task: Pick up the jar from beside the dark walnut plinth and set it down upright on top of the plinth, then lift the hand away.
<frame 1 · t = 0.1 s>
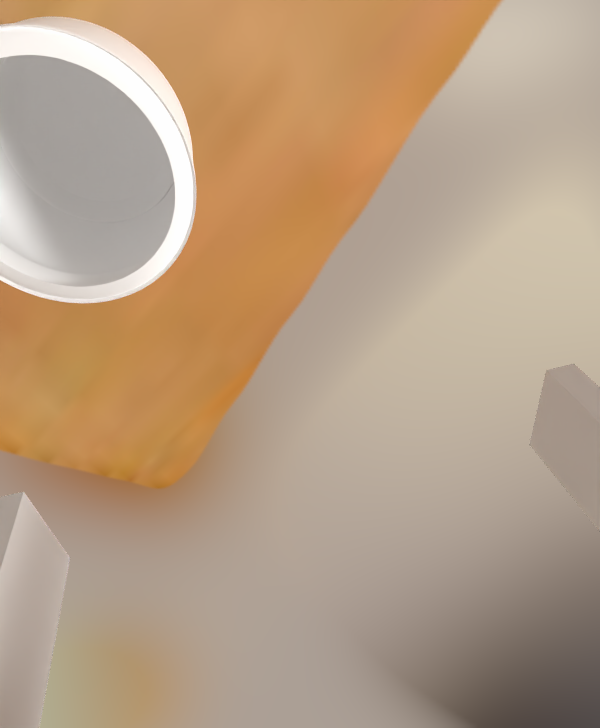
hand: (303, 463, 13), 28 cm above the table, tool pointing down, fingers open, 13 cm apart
jar: (103, 114, 32), on the table
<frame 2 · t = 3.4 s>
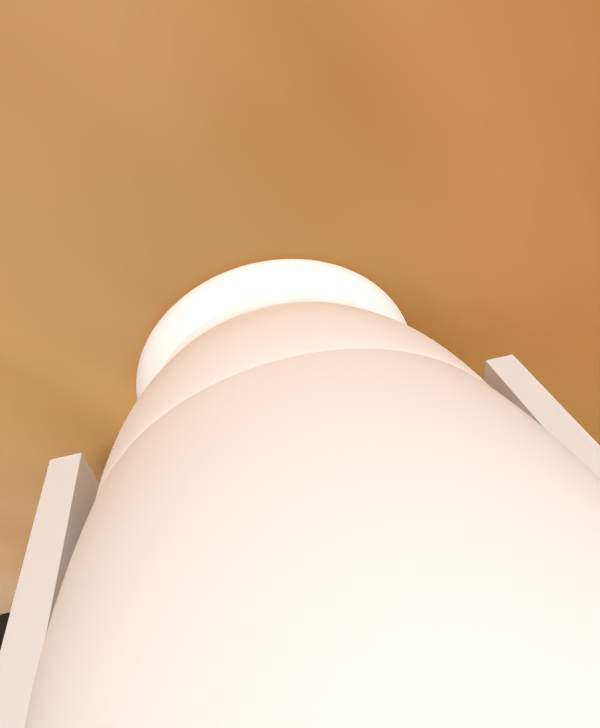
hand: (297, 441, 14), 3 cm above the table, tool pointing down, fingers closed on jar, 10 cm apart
jar: (277, 373, 16), on the table, touching gripper
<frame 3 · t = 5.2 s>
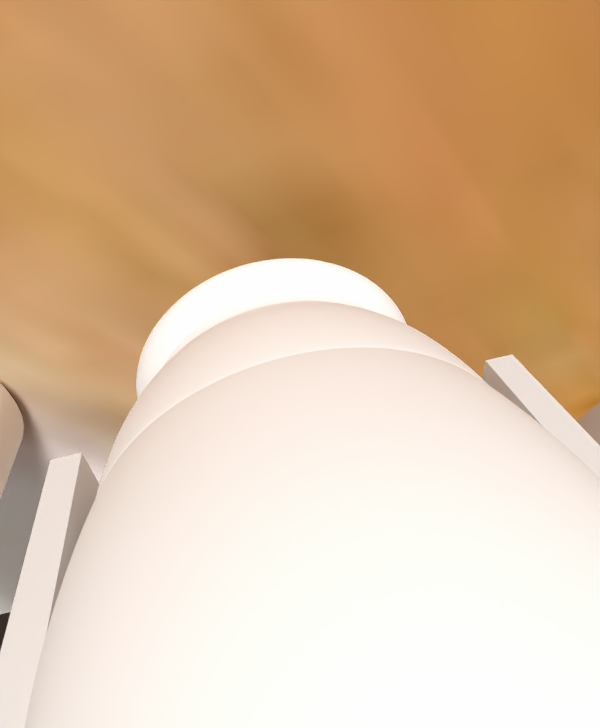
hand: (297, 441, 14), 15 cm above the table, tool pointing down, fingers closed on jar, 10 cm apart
jar: (277, 372, 16), point 12 cm above the table, touching gripper
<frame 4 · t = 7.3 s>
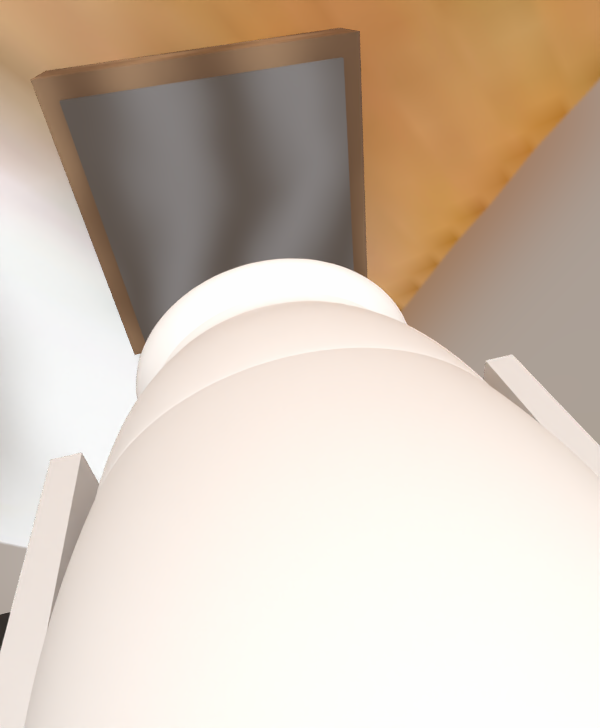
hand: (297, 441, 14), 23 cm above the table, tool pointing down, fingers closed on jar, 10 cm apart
plinth: (226, 195, 32), on the table
jar: (277, 373, 16), point 20 cm above the table, touching gripper
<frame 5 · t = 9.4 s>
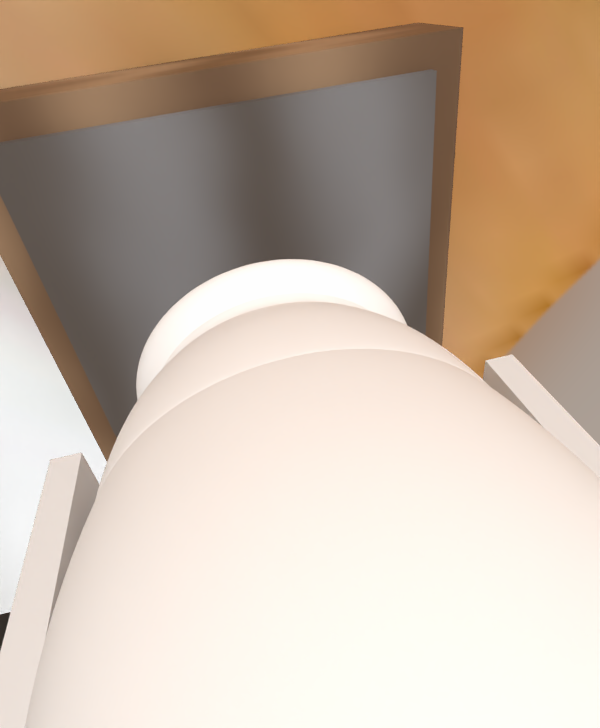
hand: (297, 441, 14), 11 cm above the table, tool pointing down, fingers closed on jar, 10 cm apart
plinth: (244, 263, 23), on the table
jar: (277, 373, 16), point 8 cm above the table, touching gripper
when the fingers open (8 cm above the table, at t = 11.1 s): jar drops 1 cm, resting on plinth.
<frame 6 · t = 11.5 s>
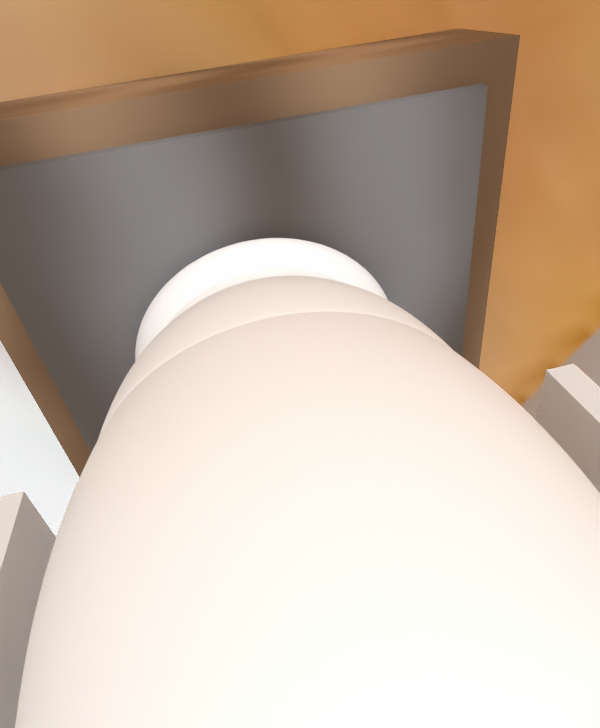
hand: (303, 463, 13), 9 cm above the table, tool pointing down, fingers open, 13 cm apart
plinth: (255, 296, 20), on the table
jar: (268, 348, 17), point 4 cm above the table, touching plinth
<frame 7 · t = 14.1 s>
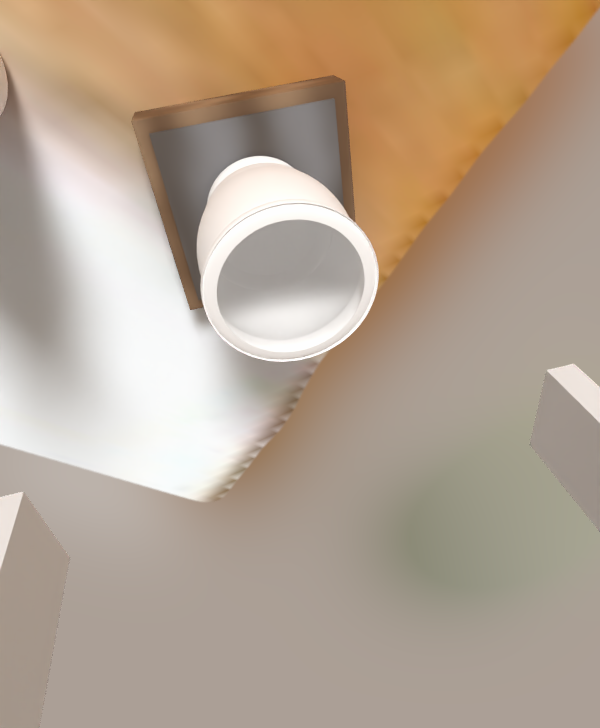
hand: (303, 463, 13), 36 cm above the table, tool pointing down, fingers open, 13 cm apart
plinth: (254, 193, 45), on the table
jar: (258, 207, 42), point 4 cm above the table, touching plinth
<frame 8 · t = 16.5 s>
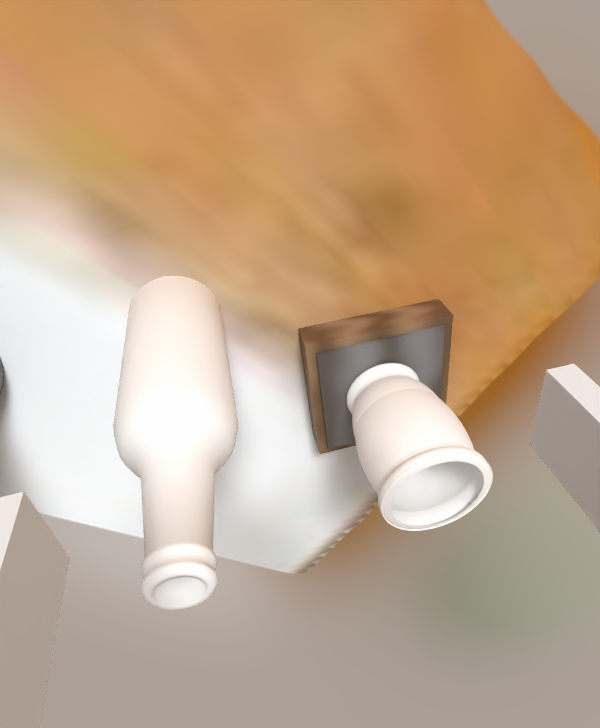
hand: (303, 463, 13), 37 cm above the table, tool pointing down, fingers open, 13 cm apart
plinth: (371, 370, 60), on the table
jar: (381, 390, 57), point 4 cm above the table, touching plinth
alcohol: (175, 311, 51), on the table
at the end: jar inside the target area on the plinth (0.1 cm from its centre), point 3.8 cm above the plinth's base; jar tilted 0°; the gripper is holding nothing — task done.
